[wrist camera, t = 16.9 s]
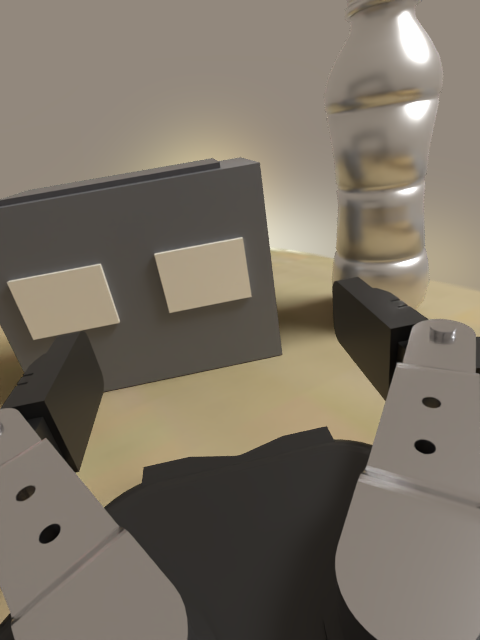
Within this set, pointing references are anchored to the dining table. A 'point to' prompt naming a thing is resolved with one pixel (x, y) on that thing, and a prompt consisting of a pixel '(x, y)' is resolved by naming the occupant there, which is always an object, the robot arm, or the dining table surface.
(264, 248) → the box
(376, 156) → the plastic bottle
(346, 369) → the dining table surface
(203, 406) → the dining table surface
